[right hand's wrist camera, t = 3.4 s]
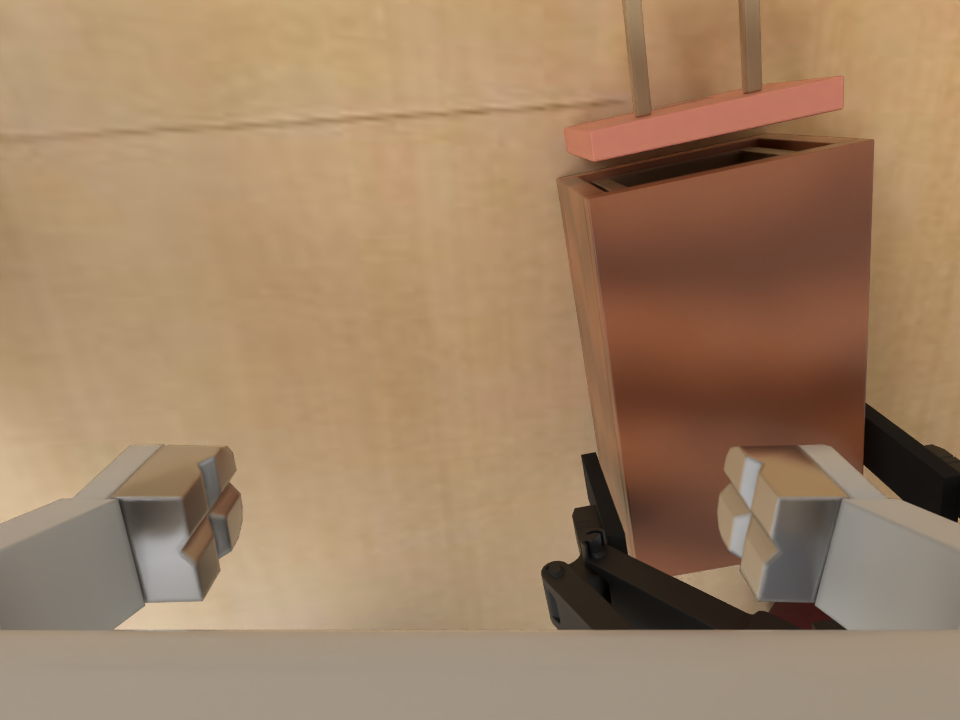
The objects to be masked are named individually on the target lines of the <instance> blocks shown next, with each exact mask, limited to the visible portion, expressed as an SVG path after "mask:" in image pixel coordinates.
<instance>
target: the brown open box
mask: <svg viewBox="0 0 960 720" xmlns="http://www.w3.org/2000/svg"><path fill="white" fill-rule="evenodd" d="M746 147H762V148H771V149H781V150H791V151H798V152H793V153H788V154H783V155H779V156H774V157H769V158H764V159H760V160H755V161H750V162H746V163H741V164H736V165H731V166H727V167H722V168H717V169H712V170H708V171H703V172H698V173H694V174H689V175H684V176H679V177H675V178H670V179H665V180H660V181H656V182H651V183H646V184H642V185H637V186H632V187H627V188H623V189H618V190H613V191H608V192H604V191H602V190H601V189H599V188H597V187H595V186H593V185H591V181H592V180H595V179H600V178H605V177H610V176H614V175H619V174H624V173H628V172H633V171H638V170H642V169H647V168H652V167H656V166H661V165H666V164H671V163H675V162H680V161H685V160H689V159H694V158H699V157H703V156H708V155H713V154H718V153H722V152H727V151H732V150H736V149H741V148H746ZM873 160H874V140H873V139H858V138H842V137H823V136H805V135H787V134H763V135H758V136H754V137H749V138H744V139H740V140H735V141H730V142H726V143H721V144H716V145H712V146H707V147H702V148H698V149H693V150H688V151H683V152H679V153H674V154H669V155H665V156H660V157H655V158H651V159H646V160H641V161H637V162H632V163H627V164H623V165H618V166H613V167H609V168H604V169H599V170H595V171H590V172H585V173H581V174H576V175H571V176H567V177H562V178H558V179H557V186H558V192H559V199H560V205H561V212H562V219H563V225H564V232H565V238H566V245H567V251H568V258H569V264H570V271H571V278H572V284H573V291H574V297H575V304H576V310H577V317H578V323H579V330H580V336H581V343H582V350H583V356H584V363H585V369H586V376H587V382H588V389H589V395H590V402H591V408H592V415H593V422H594V428H595V435H596V441H597V448H598V454H599V461H600V466H601V469H602V471H603V474H604V477H605V480H606V482H607V485H608V488H609V491H610V493H611V496H612V499H613V502H614V504H615V507H616V510H617V513H618V515H619V518H620V521H621V524H622V526H623V529H624V532H625V537H626V544H627V550H628V552H629V555H630V556H631V557H633V558H635V559H637V560H639V561H642V562H644V563H646V564H648V565H650V566H652V567H654V568H656V569H658V570H660V571H662V572H664V573H666V574H668V575H670V576H676V575H681V574H687V573H693V572H698V571H704V570H710V569H716V568H721V567H727V566H733V565H738V564H741V560H742V559H740V558H739V557H737V556H736V555H734V554H732V553H731V552H729V551H728V549H727V548H726V546H725V544H724V542H723V540H722V537H721V534H720V531H719V526H718V515H717V509H718V501H719V494H720V493H721V492H722V491H723V490H724V488H725V487H726V486H727V485H728V484H729V483H730V482H731V481H730V480H729V478H728V477H727V475H726V473H725V472H724V464H725V459H726V455H727V453H728V451H729V449H730V447H737V446H773V445H815V444H824V445H828V446H831V447H832V448H833V449H835V450H836V451H837V452H838V453H839V454H840V455H841V456H842V457H843V458H844V459H845V460H846V461H848V462H849V463H850V464H851V465H852V466H853V467H854V468H855V469H856V470H857V471H858V472H860V473H861V474H862V475H863V458H864V428H865V398H866V368H867V339H868V309H869V279H870V249H871V219H872V190H873Z"/></svg>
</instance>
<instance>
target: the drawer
mask: <svg viewBox="0 0 960 720" xmlns="http://www.w3.org/2000/svg"><path fill="white" fill-rule="evenodd" d="M622 2H623V12H624V22H625V31H626V41H627V51H628V60H629V70H630V80H631V90H632V99H633V109H634V113H630V114H625V115H621V116H616V117H611V118H607V119H602V120H598V121H593V122H589V123H584V124H579V125H575V126H570V127H566V128H564V133H565V140H566V147H567V152H568V153H570V154H573V155H576V156H579V157H581V158H584V159H587V160H590V161H593V162H598V161H603V160H607V159H612V158H617V157H621V156H626V155H631V154H635V153H640V152H645V151H649V150H654V149H658V148H663V147H668V146H672V145H677V144H682V143H686V142H691V141H696V140H700V139H705V138H710V137H714V136H719V135H724V134H728V133H733V132H738V131H742V130H747V129H752V128H756V127H761V126H766V125H770V124H775V123H780V122H784V121H789V120H794V119H798V118H803V117H808V116H812V115H817V114H822V113H826V112H831V111H836V110H840V109H842V108H843V99H844V77H843V76H835V77H826V78H817V79H808V80H799V81H790V82H781V83H771V84H763V85H762V70H761V37H760V4H759V0H739V19H740V43H741V68H742V89H740V90H735V91H731V92H726V93H721V94H717V95H712V96H708V97H703V98H698V99H694V100H689V101H685V102H680V103H676V104H671V105H666V106H662V107H657V108H653V109H651V101H650V90H649V80H648V69H647V58H646V47H645V37H644V26H643V15H642V4H641V0H622ZM793 152H798V151H791V150H781V149H771V148H762V147H746V148H741V149H736V150H732V151H727V152H722V153H718V154H713V155H708V156H703V157H699V158H694V159H689V160H685V161H680V162H675V163H671V164H666V165H661V166H656V167H652V168H647V169H642V170H638V171H633V172H628V173H624V174H619V175H614V176H610V177H605V178H600V179H595V180H592V181H591V185H593V186H595V187H597V188H599V189H601V190H602V191H604V192H608V191H613V190H618V189H623V188H627V187H632V186H637V185H642V184H646V183H651V182H656V181H660V180H665V179H670V178H675V177H679V176H684V175H689V174H694V173H698V172H703V171H708V170H712V169H717V168H722V167H727V166H731V165H736V164H741V163H746V162H750V161H755V160H760V159H764V158H769V157H774V156H779V155H783V154H788V153H793Z"/></svg>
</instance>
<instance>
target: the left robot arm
mask: <svg viewBox="0 0 960 720" xmlns="http://www.w3.org/2000/svg"><path fill="white" fill-rule="evenodd" d="M581 457H582V463H583V469H584V475H585V482H586V488H587V494H588V499H589V502H590V506H585V507H579V508H575V509H574V512H573V515H572V517H573V523H574V528H575V534H576V539H577V544H578V548H579V552H580V556H579V557H578V559H577V560H575V561H574V562H572V563H571V564H567V563H565V562H562V561H553V562H550V563H548V564H546V565H545V566H544V567H543V569H542V570H541V575H542V580H543V585H544V590H545V594H546V599H547V604H548V609H549V613H550V618H551V621H552V623H553V624H554V625H555V626H556V628H557V629H558V630H804V629H802V628H800V627H798V626H796V625H794V624H791V623H789V622H787V621H785V620H783V619H781V618H779V617H777V616H775V615H773V614H770V613H768V612H765V611H758V612H757V613H755V614H752V615H751V614H748V613H746V612H743V611H741V610H739V609H737V608H735V607H733V606H731V605H729V604H727V603H725V602H723V601H721V600H719V599H717V598H715V597H713V596H711V595H709V594H707V593H705V592H703V591H701V590H699V589H697V588H695V587H692V586H690V585H688V584H686V583H684V582H682V581H680V580H678V579H676V578H674V577H672V576H670V575H668V574H666V573H664V572H662V571H660V570H658V569H656V568H654V567H652V566H650V565H648V564H646V563H644V562H642V561H639V560H637V559H635V558H633V557H631V556H629V555H628V551H627V544H626V537H625V532H624V529H623V526H622V524H621V521H620V518H619V515H618V513H617V510H616V507H615V504H614V502H613V499H612V496H611V493H610V491H609V488H608V485H607V482H606V480H605V477H604V474H603V471H602V469H601V466H600V463H599V460H598V457H597V455H596V452H594V453H589V454H583V455H581ZM863 464H864V465H865V466H866V467H867V468H868V469H869V470H870V471H871V472H872V473H874V474H875V475H876V476H877V477H878V478H879V479H880V480H881V481H882V482H884V483H885V484H886V485H887V486H888V487H889V488H890V489H891V490H892V491H893V492H895V493H896V494H897V495H898V496H899V497H900V498H901V499H902V500H903V501H905V502H907V503H910V504H912V505H915V506H917V507H920V508H922V509H925V510H927V511H929V512H932V513H934V514H937V515H939V516H942V517H944V518H946V519H949V520H951V521H954V522H956V523H958V517H959V518H960V460H959V459H957V458H956V457H953V455H952V454H950V453H949V452H947V451H946V450H945V449H942V448H940V447H937V446H935V445H932V444H931V445H926V446H923V445H922V444H921V443H919V442H918V441H917V440H915V439H914V438H913V437H911V436H910V435H909V434H907V433H906V432H904V431H903V430H902V429H900V428H899V427H898V426H896V425H895V424H894V423H892V422H891V421H890V420H888V419H887V418H886V417H884V416H883V415H882V414H880V413H879V412H878V411H876V410H875V409H873V408H872V407H871V406H869V405H868V404H867V403H865V428H864V458H863ZM812 630H847V629H846V628H844V627H843V626H842V625H840V624H839V623H838V622H836V621H835V620H834V619H830V620H823V621H817V622H812Z"/></svg>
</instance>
